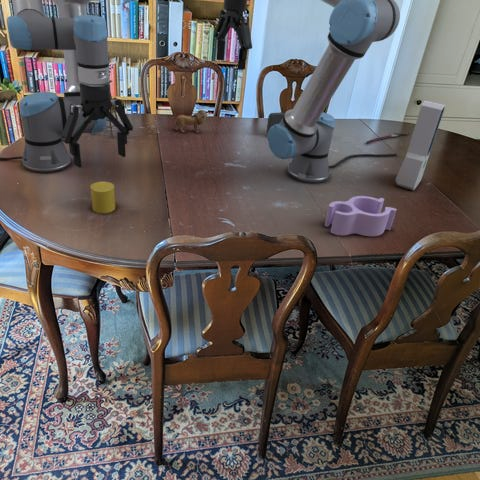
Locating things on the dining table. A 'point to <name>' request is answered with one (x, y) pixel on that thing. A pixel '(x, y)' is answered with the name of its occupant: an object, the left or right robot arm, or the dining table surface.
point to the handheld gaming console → (274, 119)
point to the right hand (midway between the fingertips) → (230, 64)
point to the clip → (359, 216)
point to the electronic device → (420, 145)
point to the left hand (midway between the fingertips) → (100, 160)
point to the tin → (103, 197)
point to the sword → (384, 137)
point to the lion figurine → (191, 120)
